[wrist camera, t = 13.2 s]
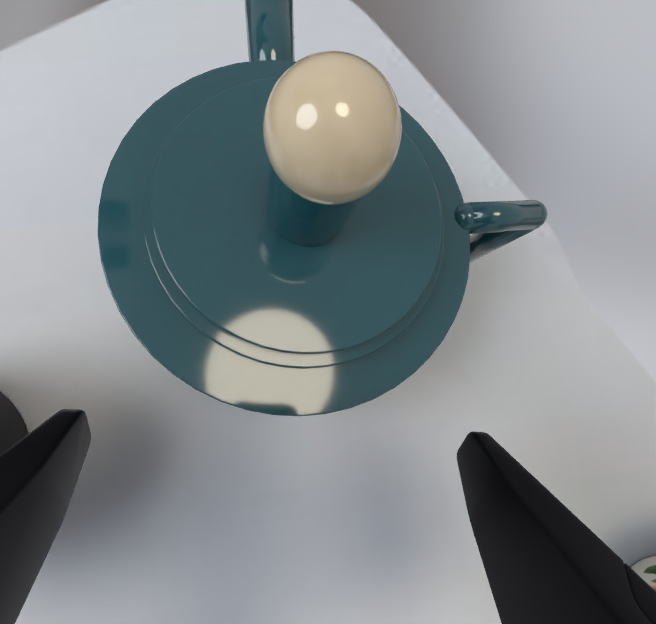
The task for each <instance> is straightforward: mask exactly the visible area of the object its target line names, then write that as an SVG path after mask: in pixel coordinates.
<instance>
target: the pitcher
mask: <svg viewBox="0 0 656 624" xmlns="http://www.w3.org/2000/svg"><path fill="white" fill-rule="evenodd" d="M631 569H632V570H634V571H635V572H636V573H637V574H638V575H639V576H640V577H641V578H642V579H643V580H644V581H645V582H646V583H647V584H649V585H650V586H651V587H652V588H653V589H654V590H655V591H656V556H652V557H648V558H645V559H642V560H641V561H639V562H637V563H636V564H635V565H633V566H632V567H631Z"/></svg>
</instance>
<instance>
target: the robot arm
mask: <svg viewBox="0 0 656 624" xmlns="http://www.w3.org/2000/svg"><path fill="white" fill-rule="evenodd" d="M90 440H91V433H90V429H89V425H88V421H87V417H86V413H85V412H84V411H83V410H74V409H63V410H61V411H59V412H57V413H56V414H55V415H53V416H52V417H51V418H49V419H48V420H47V421H45V422H44V423H43V424H41V425H40V426H39V427H37V428H36V429H35V430H33V431H32V432H31V433H29V434H28V435H27V436H25V437H24V438H23V439H21V440H20V441H19V442H17V443H16V444H15V445H13V446H12V447H11V448H9V449H8V450H7V451H5V452H4V453H3V454H1V455H0V624H15V622H16V620H17V618H18V616H19V614H20V611H21V609H22V607H23V605H24V603H25V601H26V599H27V596H28V594H29V592H30V590H31V588H32V586H33V584H34V582H35V579H36V577H37V575H38V573H39V571H40V569H41V567H42V564H43V562H44V560H45V558H46V556H47V554H48V552H49V549H50V547H51V545H52V543H53V541H54V539H55V537H56V535H57V532H58V530H59V528H60V526H61V524H62V521H63V519H64V517H65V514H66V511H67V509H68V506H69V503H70V500H71V497H72V494H73V491H74V488H75V486H76V483H77V480H78V477H79V474H80V471H81V468H82V465H83V462H84V459H85V456H86V454H87V451H88V448H89V445H90ZM457 462H458V467H459V471H460V476H461V481H462V486H463V491H464V496H465V500H466V505H467V510H468V514H469V518H470V522H471V526H472V529H473V532H474V536H475V539H476V542H477V545H478V549H479V552H480V555H481V558H482V561H483V565H484V568H485V571H486V574H487V578H488V581H489V584H490V587H491V591H492V594H493V597H494V600H495V603H496V607H497V610H498V613H499V616H500V620H501V623H502V624H656V591H655V590H654V589H653V588H652V587H651V586H650V585H649V584H647V583H646V582H645V581H644V580H643V579H642V578H641V577H640V576H639V575H638V574H637V573H636V572H635V571H634V570H632V569H631V568H630V567H629V566H628V565H627V564H625V563H623V560H622V559H621V558H620V557H618V556H617V555H616V554H615V553H614V552H613V551H612V550H611V549H610V548H609V547H608V546H607V545H606V544H605V543H604V542H603V541H601V540H600V539H599V538H598V537H597V536H596V535H595V534H594V533H593V532H592V531H591V530H590V529H589V528H588V527H587V526H586V525H584V524H583V523H582V522H581V521H580V520H579V519H578V518H577V517H576V516H575V515H574V514H573V513H572V512H571V511H570V510H568V509H567V508H566V507H565V506H564V505H563V504H562V503H561V502H560V501H559V500H558V499H557V498H556V497H555V496H554V495H553V494H551V493H550V492H549V491H548V490H547V489H546V488H545V487H544V486H543V485H542V484H541V483H540V482H539V481H538V480H537V479H536V478H534V477H533V476H532V475H531V474H530V473H529V472H528V471H527V470H526V469H525V468H524V467H523V466H522V465H521V464H520V463H519V462H517V461H516V460H515V459H514V458H513V457H512V456H511V455H510V454H509V453H508V452H507V451H506V450H505V449H504V448H503V447H501V446H500V445H499V444H498V443H497V442H496V441H495V440H494V439H493V438H492V437H491V436H490V435H488V434H487V433H484V432H470V433H469V434H468V435H467V437H466V438H465V440H464V441H463V443H462V445H461V446H460V448H459V449H458V452H457Z"/></svg>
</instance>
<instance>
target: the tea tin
mask: <svg viewBox="0 0 656 624" xmlns="http://www.w3.org/2000/svg"><path fill="white" fill-rule="evenodd" d="M27 435H28V434H27V430H26V427H25V424H24V422H23V420H22V417H21V416H20V414H19V413H18V411H17V409H16V408H15V407H14V405H13V404H12V403H11V402H10V401H9V400H8V399H7V398H6V397H5V396H4V395H3V394H2V393H0V455H1V454H3V453H4V452H5V451H7V450H8V449H9V448H11V447H12V446H13V445H15V444H16V443H17V442H19V441H20V440H21V439H23V438H24V437H25V436H27Z"/></svg>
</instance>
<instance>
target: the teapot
mask: <svg viewBox="0 0 656 624" xmlns="http://www.w3.org/2000/svg"><path fill="white" fill-rule="evenodd" d="M245 13H246V27H247V41H248V55H249V62H243V63H236V64H232V65H228V66H224V67H220V68H217V69H213V70H211V71H208V72H206V73H203V74H201V75H198V76H196V77H193V78H191V79H189V80H188V81H186V82H184V83H182V84H180V85H179V86H177V87H175V88H173V89H172V90H170V91H169V92H168V93H166V94H165V95H164V96H162V97H161V98H160V99H159V100H157V101H156V102H155V103H153V104H152V105H151V106H150V107H149V108H148V109H147V110H146V111H145V112H144V113H143V114H142V115H141V116H140V117H139V118H138V120H137V121H136V122H135V123H134V125H133V126H132V127H131V129H130V130H129V131H128V133H127V134H126V136H125V137H124V138H123V140H122V142H121V143H120V145H119V147H118V149H117V151H116V153H115V155H114V157H113V159H112V161H111V163H110V166H109V169H108V172H107V175H106V178H105V181H104V183H103V188H102V193H101V199H100V204H99V211H98V241H99V249H100V257H101V263H102V266H103V270H104V274H105V277H106V281H107V284H108V287H109V290H110V292H111V294H112V296H113V299H114V301H115V303H116V305H117V308H118V310H119V312H120V313H121V315H122V317H123V318H124V320H125V321H126V323H127V324H128V326H129V328H130V329H131V331H132V332H133V334H134V335H135V336H136V338H137V339H138V340H139V341H140V342H141V343H142V345H143V346H144V347H145V348H146V349H147V351H148V352H149V353H150V354H151V355H152V356H153V357H154V358H155V359H156V360H157V361H158V362H160V363H161V364H162V365H163V366H164V367H165V368H166V369H168V370H169V371H170V372H171V373H172V374H173V375H175V376H176V377H178V378H179V379H181V380H182V381H184V382H185V383H187V384H188V385H190V386H191V387H193V388H194V389H196V390H198V391H200V392H202V393H204V394H206V395H208V396H210V397H212V398H214V399H217V400H219V401H221V402H224V403H227V404H230V405H233V406H236V407H239V408H242V409H245V410H249V411H255V412H260V413H266V414H271V415H285V416H307V415H318V414H327V413H332V412H336V411H340V410H344V409H349V408H352V407H355V406H357V405H360V404H363V403H365V402H368V401H370V400H373V399H375V398H377V397H379V396H380V395H382V394H384V393H386V392H388V391H390V390H391V389H393V388H395V387H396V386H398V385H399V384H400V383H402V382H403V381H404V380H406V379H407V378H408V377H410V376H411V375H412V374H414V373H415V372H416V371H417V370H418V369H419V368H420V367H421V366H422V365H423V364H424V363H425V362H426V361H427V360H428V359H429V358H430V356H431V355H432V354H433V352H434V351H435V350H436V349H437V347H438V346H439V345H440V343H441V342H442V341H443V339H444V337H445V336H446V334H447V332H448V330H449V329H450V327H451V325H452V323H453V322H454V320H455V317H456V315H457V312H458V310H459V307H460V305H461V302H462V299H463V295H464V291H465V287H466V283H467V279H468V271H469V263H471V262H472V261H474V260H476V259H478V258H480V257H482V256H484V255H486V254H488V253H490V252H492V251H494V250H496V249H498V248H500V247H502V246H504V245H506V244H508V243H509V242H511V241H513V240H515V239H517V238H519V237H521V236H523V235H525V234H527V233H529V232H531V231H533V230H535V229H537V228H539V227H540V226H541V225H542V224H543V223H544V222H545V220H546V218H547V209H546V207H545V206H544V204H543V203H541V202H539V201H536V200H522V201H496V202H471V203H464V202H463V198H462V195H461V192H460V190H459V187H458V185H457V182H456V179H455V177H454V175H453V173H452V171H451V169H450V167H449V165H448V163H447V161H446V159H445V158H444V156H443V155H442V153H441V152H440V150H439V149H438V147H437V146H436V144H435V143H434V141H433V140H432V139H431V137H430V136H429V135H428V134H427V133H426V131H425V130H424V129H423V128H422V127H421V126H420V124H419V123H418V122H417V121H416V120H415V119H414V118H412V117H411V116H410V115H409V114H408V113H407V112H406V111H405V110H404V109H403V108H402V107H400V106H399V108H400V112H401V122H402V129H403V130H404V131H405V133H406V134H407V135H408V136H409V138H410V139H411V140H412V141H413V143H414V144H415V146H416V147H417V149H418V150H419V152H420V153H421V155H422V156H423V158H424V160H425V162H426V164H427V166H428V168H429V170H430V172H431V175H432V178H433V181H434V184H435V187H436V190H437V194H438V199H439V203H440V211H441V221H442V224H441V242H440V248H439V254H438V258H437V261H436V265H435V268H434V271H433V274H432V276H431V278H430V280H429V282H428V284H427V287H426V288H425V290H424V292H423V293H422V295H421V296H420V298H419V299H418V301H417V302H416V303H415V305H414V306H413V307H412V308H411V309H410V310H409V312H408V313H407V314H406V315H405V316H404V317H403V318H402V319H400V320H399V321H398V322H397V323H396V324H395V325H394V326H392V327H391V328H390V329H388V330H386V331H385V332H383V333H382V334H380V335H379V336H377V337H375V338H373V339H371V340H369V341H367V342H365V343H363V344H360V345H358V346H354V347H351V348H348V349H345V350H342V351H338V352H332V353H326V354H320V355H293V354H283V353H277V352H273V351H269V350H265V349H261V348H258V347H255V346H253V345H250V344H247V343H245V342H242V341H240V340H238V339H237V338H235V337H233V336H231V335H229V334H227V333H225V332H224V331H222V330H221V329H219V328H218V327H217V326H215V325H214V324H212V323H211V322H210V321H208V320H207V319H206V318H205V317H204V316H203V315H202V314H201V313H200V312H199V311H198V310H196V309H195V308H194V307H193V306H192V305H191V303H190V302H189V301H188V300H187V298H186V297H185V296H184V295H183V293H182V292H181V291H180V290H179V289H178V287H177V286H176V284H175V283H174V281H173V279H172V278H171V276H170V274H169V273H168V271H167V269H166V267H165V265H164V263H163V260H162V258H161V256H160V253H159V251H158V248H157V244H156V240H155V237H154V233H153V228H152V219H151V189H152V184H153V179H154V173H155V170H156V167H157V164H158V161H159V159H160V156H161V153H162V151H163V150H164V148H165V146H166V144H167V142H168V140H169V138H170V137H171V135H172V134H173V133H174V131H175V130H176V128H177V127H178V126H179V124H180V123H181V122H182V121H183V120H184V119H185V118H186V117H187V116H188V115H189V114H190V113H191V112H192V111H193V110H194V109H195V108H197V107H198V106H199V105H201V104H202V103H203V102H205V101H206V100H207V99H209V98H211V97H212V96H214V95H216V94H218V93H220V92H221V91H223V90H226V89H228V88H231V87H233V86H236V85H238V84H241V83H245V82H249V81H253V80H257V79H265V78H273V77H280V76H281V75H282V74H283V73H284V72H285V71H286V70H287V69H288V68H289V67H290V66H292V65H293V64H294V63H295V56H294V19H293V0H245ZM469 234H473V235H471V236H470V235H469Z"/></svg>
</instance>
